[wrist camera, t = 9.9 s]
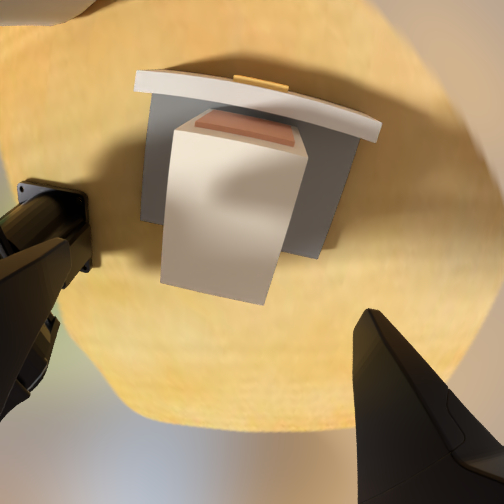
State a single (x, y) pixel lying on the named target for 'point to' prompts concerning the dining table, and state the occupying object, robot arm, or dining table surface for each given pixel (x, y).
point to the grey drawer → (265, 107)
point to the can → (40, 11)
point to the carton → (229, 203)
